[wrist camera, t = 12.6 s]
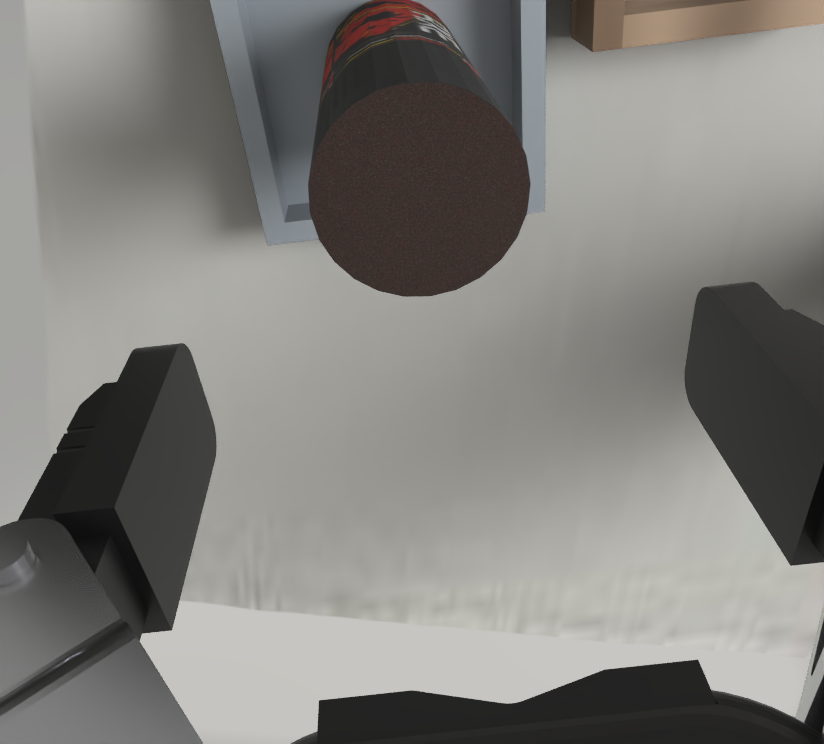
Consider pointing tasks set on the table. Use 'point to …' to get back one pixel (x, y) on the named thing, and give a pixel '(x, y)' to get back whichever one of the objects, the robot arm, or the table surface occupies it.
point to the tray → (303, 74)
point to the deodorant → (412, 156)
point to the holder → (682, 19)
